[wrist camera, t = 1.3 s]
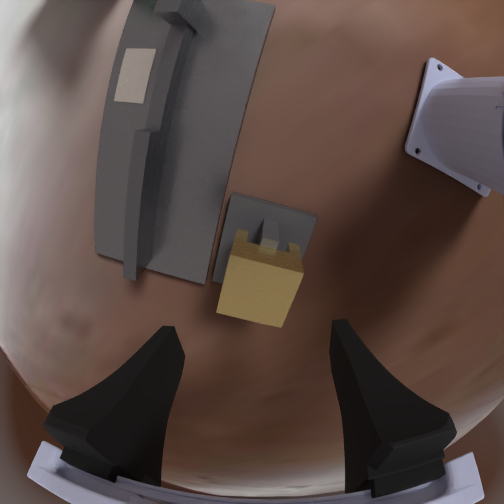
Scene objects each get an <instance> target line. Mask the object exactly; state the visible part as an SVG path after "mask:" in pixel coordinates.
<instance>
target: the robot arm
mask: <svg viewBox="0 0 504 504" xmlns="http://www.w3.org/2000/svg"><path fill="white" fill-rule="evenodd" d="M437 65H438V66H439V67H440V70H439V69H438V68H437ZM416 148H418V149H419V152H418V153H417V154H416V153H415V149H416ZM405 151H406V153H408V154H409V155H411V156H413V157H415V158H417V159H419V160H421V161H423V162H425V163H427V164H429V165H431V166H433V167H435V168H437V169H438V170H440V171H442V172H444V173H446V174H447V175H449V176H451V177H453V178H454V179H456V180H458V181H459V182H461V183H463V184H464V185H466V186H468V187H469V188H471V189H473V190H474V191H476V192H477V193H479V194H480V195H482V196H484V197H487V196H488V194H489V192H490V189H493V190H495V191H497V192H499V193H500V194H502V195H504V77H477V78H463V77H462V76H460V75H459V74H458V73H456V72H455V71H453V70H452V69H450V68H449V67H447V66H446V65H444V64H443V63H441V62H440V61H438V60H437V59H435V58H429V59H428V60H427V63H426V68H425V73H424V77H423V81H422V86H421V90H420V94H419V98H418V102H417V106H416V109H415V113H414V116H413V120H412V123H411V127H410V130H409V134H408V137H407V140H406V143H405ZM478 184H479V187H478V188H477V186H478ZM329 353H330V362H331V370H332V375H333V379H334V384H335V388H336V392H337V397H338V401H339V406H340V410H341V416H342V424H343V435H344V451H345V494H342V495H334V496H326V497H316V498H304V499H283V500H258V499H237V498H224V497H214V496H206V495H199V494H192V493H186V492H181V491H176V490H171V489H166V488H161V487H160V486H161V468H162V456H163V446H164V439H165V433H166V427H167V422H168V417H169V413H170V410H171V406H172V403H173V400H174V397H175V394H176V391H177V388H178V385H179V382H180V379H181V376H182V371H183V366H184V360H185V354H184V351H183V349H182V346H181V343H180V341H179V338H178V336H177V333H176V330H175V327H174V326H162V327H161V328H160V329H159V330H158V331H157V332H156V333H155V334H154V335H153V336H152V337H151V338H150V339H149V340H148V341H147V342H146V343H145V344H144V345H143V346H142V347H141V348H140V349H139V350H138V351H137V352H136V353H135V354H134V355H133V356H132V357H131V358H130V359H129V360H128V361H127V362H126V363H124V364H123V365H122V366H121V367H120V368H119V369H118V370H116V371H115V372H114V373H113V374H111V375H110V376H109V377H107V378H106V379H105V380H103V381H102V382H100V383H99V384H97V385H95V386H94V387H92V388H91V389H89V390H87V391H85V392H84V393H82V394H80V395H78V396H76V397H74V398H71V399H69V400H67V401H64V402H62V403H59V404H57V405H54V406H53V407H52V409H51V410H50V412H49V414H48V416H47V418H46V420H45V422H44V424H43V425H44V428H45V429H46V430H47V432H48V433H49V434H50V435H52V436H53V437H54V438H55V439H56V440H57V441H58V442H60V443H61V444H62V445H63V446H64V449H63V451H62V450H61V449H59V448H57V447H55V446H53V445H51V444H49V443H47V442H45V441H42V443H41V445H40V447H39V449H38V452H37V454H36V456H35V458H34V460H33V463H32V465H31V467H30V469H29V472H28V474H27V476H28V477H29V478H31V479H32V480H33V481H35V482H37V483H38V484H39V485H41V486H43V487H44V488H46V489H47V490H49V491H51V492H52V493H54V494H56V495H58V496H59V497H61V498H63V499H64V500H66V501H68V502H70V503H72V504H159V503H156V502H152V501H149V500H153V501H157V502H161V503H165V504H474V503H476V502H478V501H479V500H481V499H483V498H484V493H483V488H482V484H481V480H480V477H479V473H478V469H477V466H476V462H475V459H474V456H473V453H472V452H469V453H467V454H465V455H462V456H460V457H458V458H455V459H453V460H451V461H449V462H447V463H445V464H444V465H443V461H442V459H443V458H444V457H445V455H444V451H443V449H444V448H445V447H446V446H447V445H448V444H449V443H450V442H451V441H452V440H453V439H454V438H455V436H456V433H457V431H456V428H455V425H454V423H453V420H452V418H451V417H450V415H449V413H448V412H446V411H444V410H442V409H440V408H438V407H436V406H434V405H432V404H430V403H429V402H427V401H425V400H424V399H422V398H421V397H419V396H418V395H416V394H415V393H414V392H412V391H411V390H410V389H408V388H407V387H406V386H404V385H403V384H402V383H401V382H400V381H398V380H397V379H396V378H395V377H394V376H393V375H392V374H391V373H390V372H389V371H388V370H387V369H386V368H385V367H384V366H383V365H382V364H381V363H380V362H379V361H378V360H377V359H376V358H375V356H374V355H373V354H372V353H371V352H370V351H369V349H368V348H367V347H366V346H365V344H364V343H363V342H362V340H361V339H360V338H359V336H358V335H357V334H356V332H355V331H354V329H353V328H352V326H351V325H350V323H349V322H348V321H347V320H346V319H341V320H332V330H331V341H330V350H329ZM144 498H146V499H149V500H146V499H144Z"/></svg>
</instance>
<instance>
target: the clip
mask: <svg viewBox="0 0 504 504" xmlns="http://www.w3.org/2000/svg"><path fill="white" fill-rule="evenodd" d="M248 232H249V231H245V230H241V229H238V230H237V233H236V236H235V240H234V243H233V246H232V250H231V253H230V257H229V261H228V265H227V269H226V273H225V277H224V281H223V286H222V290H221V294H220V298H219V303H218V307H217V311H216V313H220V314H224V315H228V316H232V317H236V318H240V319H244V320H249V321H253V322H257V323H262V324H266V325H271V326H275V327H280V328H281V327H282V325H283V323H284V321H285V318H286V316H287V314H288V311H289V309H290V307H291V304H292V302H293V299H294V297H295V295H296V292H297V290H298V287H299V285H300V283H301V280H302V278H303V275H304V270H303V264H302V258H301V253H300V247H299V245H298V244H294V243H290V242H288V245H287V248H286V251H285V252H284V251H281V250H277V249H273V248H269V247H265V246H261V245H258V244H254V243H250V242H247V237H248Z"/></svg>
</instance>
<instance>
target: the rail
mask: <svg viewBox="0 0 504 504" xmlns="http://www.w3.org/2000/svg"><path fill="white" fill-rule="evenodd" d="M274 12H275V5H271V4H266V3H260V2H254V1H248V0H134V1H133V4H132V6H131V9H130V12H129V15H128V17H127V20H126V23H125V26H124V29H123V33H122V36H121V39H120V43H119V46H118V50H117V53H116V57H115V61H114V65H113V69H112V73H111V77H110V82H109V87H108V91H107V96H106V102H105V107H104V113H103V119H102V126H101V133H100V141H99V150H98V160H97V172H96V187H95V253H98V254H101V255H104V256H108V257H111V258H114V259H117V260H120V261H123V277H124V278H127V279H131V280H134V281H136V280H137V279H138V278H139V276H140V275H141V274H142V272H143V271H144V269H145V268H147V269H151V270H154V271H157V272H161V273H164V274H168V275H172V276H175V277H179V278H182V279H186V280H190V281H193V282H197V283H201V284H204V285H205V283H206V280H207V276H208V271H209V266H210V261H211V256H212V251H213V246H214V242H215V237H216V232H217V228H218V223H219V219H220V214H221V210H222V205H223V201H224V196H225V192H226V188H227V183H228V179H229V175H230V171H231V167H232V162H233V158H234V154H235V150H236V146H237V142H238V138H239V134H240V131H241V127H242V123H243V119H244V115H245V111H246V108H247V104H248V100H249V97H250V93H251V89H252V86H253V82H254V78H255V75H256V71H257V68H258V64H259V61H260V58H261V54H262V51H263V47H264V44H265V41H266V37H267V34H268V31H269V28H270V25H271V21H272V18H273V15H274Z"/></svg>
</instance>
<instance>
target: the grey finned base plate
mask: <svg viewBox="0 0 504 504" xmlns="http://www.w3.org/2000/svg"><path fill="white" fill-rule="evenodd" d="M317 219H318V218H317V216H316V215H315V214H312V213H309V212H305V211H302V210H298V209H295V208H291V207H288V206H284V205H280V204H277V203H273V202H269V201H266V200H262V199H258V198H254V197H251V196H247V195H243V194H239V193H235V192H233V193H232V195H231V198H230V203H229V207H228V211H227V215H226V220H225V224H224V229H223V233H222V237H221V242H220V246H219V251H218V255H217V260H216V265H215V269H214V274H213V279H212V281H214V282H217V283H221V284H223V281H224V277H225V273H226V269H227V265H228V261H229V257H230V253H231V250H232V246H233V243H234V240H235V236H236V233H237V230H238V229H241V230H245V231H249V232H248V237H247V242H250V243H254V244H258V245H261V246H265V247H269V248H273V249H277V250H281V251H284V252H285V251H286V248H287V245H288V242H290V243H294V244H298V245H299V247H300V253H301V258H302V260H303V257H304V254H305V252H306V249H307V246H308V244H309V241H310V238H311V236H312V233H313V230H314V227H315V225H316V222H317Z"/></svg>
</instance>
